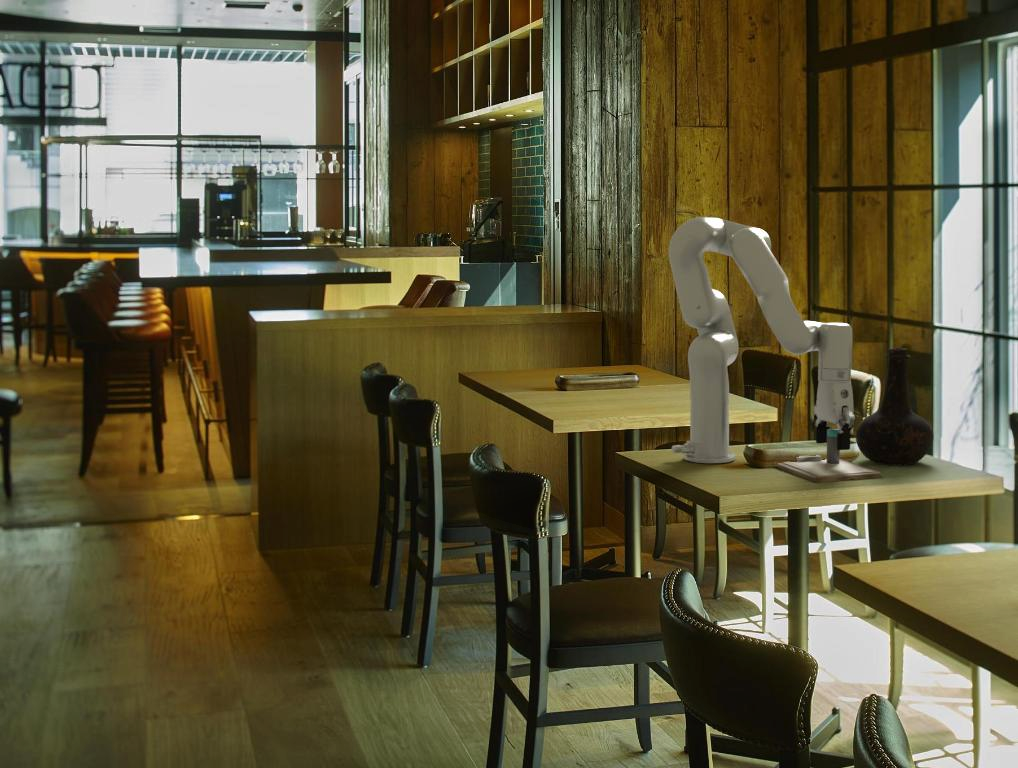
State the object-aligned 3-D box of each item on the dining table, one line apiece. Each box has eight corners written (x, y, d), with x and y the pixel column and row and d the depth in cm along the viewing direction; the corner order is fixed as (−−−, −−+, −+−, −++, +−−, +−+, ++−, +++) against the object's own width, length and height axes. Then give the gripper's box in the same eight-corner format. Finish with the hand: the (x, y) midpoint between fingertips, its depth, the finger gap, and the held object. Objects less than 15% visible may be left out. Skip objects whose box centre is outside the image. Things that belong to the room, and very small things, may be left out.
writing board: (815, 482, 284) (815, 472, 284) (774, 466, 303) (774, 457, 303) (882, 477, 289) (882, 467, 288) (837, 462, 308) (837, 453, 308)
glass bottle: (844, 465, 304) (846, 349, 301) (870, 453, 319) (873, 343, 315) (918, 472, 294) (921, 353, 291) (942, 460, 308) (945, 346, 305)
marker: (829, 464, 299) (830, 430, 298) (824, 461, 302) (825, 429, 301) (841, 463, 300) (842, 430, 299) (836, 461, 302) (837, 428, 301)
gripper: (868, 378, 291) (866, 451, 293) (830, 370, 307) (828, 439, 310) (839, 380, 289) (837, 453, 291) (802, 371, 305) (800, 441, 308)
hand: (832, 446), depth 300 cm, fingers open, 9 cm apart
